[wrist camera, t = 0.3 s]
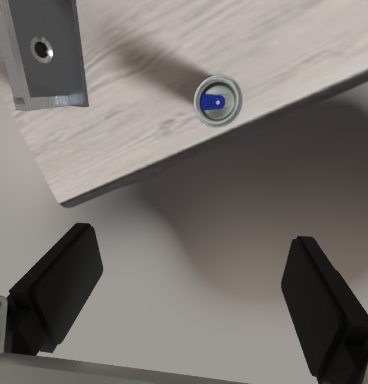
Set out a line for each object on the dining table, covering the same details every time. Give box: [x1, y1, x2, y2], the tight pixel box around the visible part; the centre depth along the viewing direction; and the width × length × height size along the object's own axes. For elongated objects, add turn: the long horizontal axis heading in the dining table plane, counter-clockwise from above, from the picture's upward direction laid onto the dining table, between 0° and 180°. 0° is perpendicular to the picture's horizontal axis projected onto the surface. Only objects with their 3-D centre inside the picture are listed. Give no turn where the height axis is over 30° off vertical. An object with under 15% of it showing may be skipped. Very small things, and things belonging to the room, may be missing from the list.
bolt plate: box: [8, 0, 89, 107], centre depth 32 cm, size 26×12×1 cm, turn 177°
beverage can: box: [193, 74, 243, 128], centre depth 29 cm, size 5×5×15 cm
